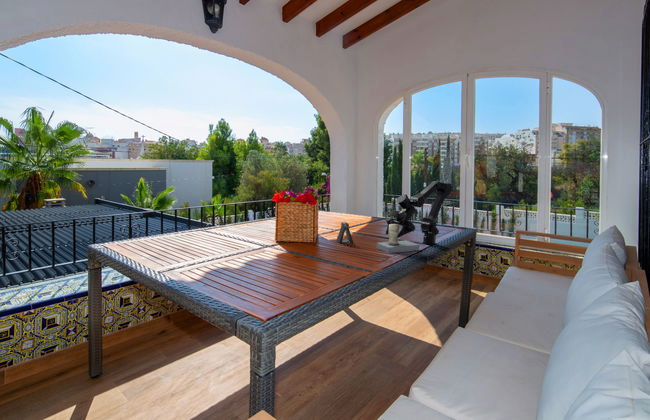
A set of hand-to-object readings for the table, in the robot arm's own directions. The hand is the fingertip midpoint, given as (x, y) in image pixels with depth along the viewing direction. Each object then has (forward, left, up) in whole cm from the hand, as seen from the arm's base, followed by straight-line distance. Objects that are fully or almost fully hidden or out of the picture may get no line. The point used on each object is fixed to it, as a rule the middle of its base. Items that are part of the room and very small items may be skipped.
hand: (391, 235), depth 194 cm
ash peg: (-1, 0, -8) cm, 8 cm away
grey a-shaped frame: (+16, -27, -8) cm, 32 cm away
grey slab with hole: (-4, 0, -8) cm, 9 cm away
